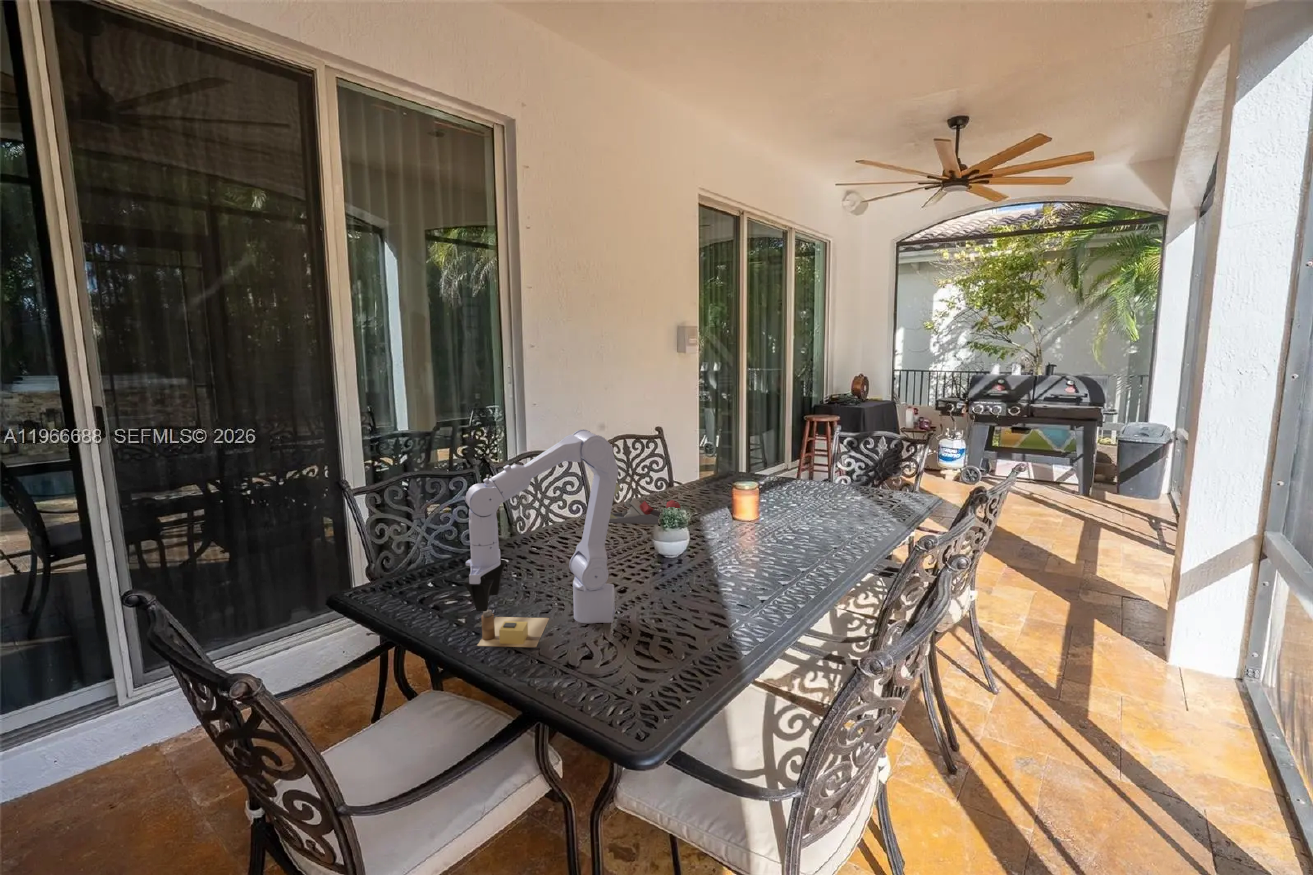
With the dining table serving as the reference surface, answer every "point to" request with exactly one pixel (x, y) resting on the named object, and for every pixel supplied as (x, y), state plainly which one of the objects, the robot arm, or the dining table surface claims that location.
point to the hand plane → (638, 511)
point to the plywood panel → (534, 631)
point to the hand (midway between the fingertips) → (487, 602)
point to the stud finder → (513, 632)
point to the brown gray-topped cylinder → (488, 625)
